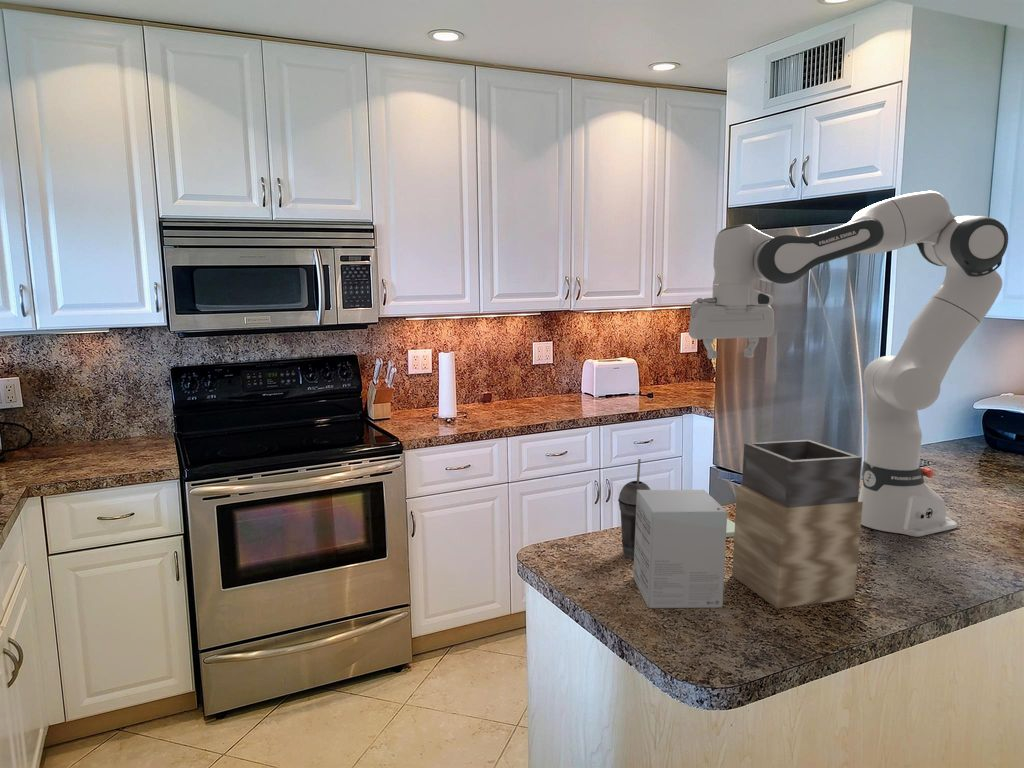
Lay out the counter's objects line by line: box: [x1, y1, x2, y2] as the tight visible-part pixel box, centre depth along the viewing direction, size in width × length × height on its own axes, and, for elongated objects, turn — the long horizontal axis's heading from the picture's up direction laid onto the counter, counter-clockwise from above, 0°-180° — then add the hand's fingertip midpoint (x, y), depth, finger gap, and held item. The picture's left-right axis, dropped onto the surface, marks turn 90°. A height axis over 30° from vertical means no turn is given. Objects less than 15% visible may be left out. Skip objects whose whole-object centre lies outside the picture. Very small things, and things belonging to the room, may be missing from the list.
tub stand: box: [731, 439, 863, 609], centre depth 129 cm, size 16×14×26 cm
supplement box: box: [632, 489, 728, 609], centre depth 127 cm, size 13×13×18 cm
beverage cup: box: [617, 458, 652, 560], centre depth 144 cm, size 7×7×20 cm
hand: (730, 357), depth 163 cm, fingers open, 8 cm apart
